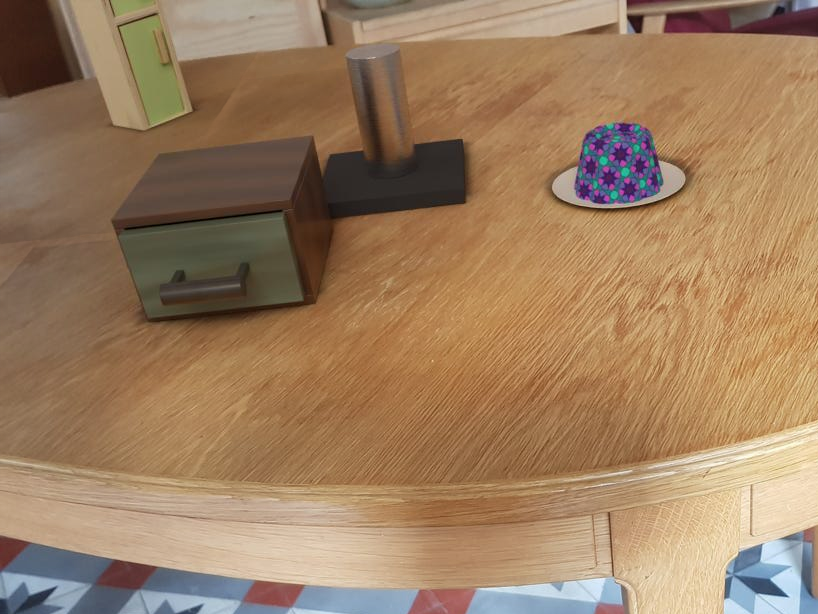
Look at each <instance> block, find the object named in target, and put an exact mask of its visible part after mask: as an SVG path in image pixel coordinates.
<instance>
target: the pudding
mask: <svg viewBox="0 0 818 614" xmlns="http://www.w3.org/2000/svg"><path fill="white" fill-rule="evenodd" d="M685 183H686V175H685V173H684V171H683V170H682V169H681V168H679V167H678V166H676V165H674V164H673V163H672V164H671V163H669V162H666V161H663V160H659V158H658V154H657V149H656V146H655V142H654V137H653V134H652V133H651V131H650V130H649V129H648V128H647V127H645V126H643V125H642V124H639V123H635V122H630V123H626V122H612V123H610V124H602V125H597V126H595V127H594V129H591V130H589V131H588V132H586V133H585V135H584V137H583V139H582V143H581V149H580V154H579V159H578V164H577V166H575V167H572V168H570V169H567V170H565V171H564V172H562V173H560V175H558V176H557V177H556V178H555V179H554V180H553V183H552V185H551V190H552V192H553V194H554V195H555V196H557V198H559V199H560V200H563V202H567V203H569V204H572V205H576V206H581V207H588V208H597V209H621V208H629V207H630V208H631V207H637V206H641V205H646V204H649V203H654V202H657V201H660V200H662V199H665V198H668V197H669V196H671V195H673V194H675V193H677V192H678V191H679V190H680V189H681V188H682V187H683V186H684V184H685Z"/></svg>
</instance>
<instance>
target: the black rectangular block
mask: <svg viewBox="0 0 818 614" xmlns="http://www.w3.org/2000/svg"><path fill="white" fill-rule="evenodd" d="M414 145H415V152H416V158H417V165H418V166H417V169H416V170H415V171H413V172H412V173H410V174H407V175H405V176H401V177H397V178H391V179H377V178H373V177H370V176H369V175H368V174H367V169H366V164H365V158H364V153H363V149H362V150H353V151H346V152H338V153H330V154H329V156H328V159H327V162H326V165H325V168H324V172H323V174H322V178H323V183H324V188H325V192H326V197H327V202H328V206H329V211H330V215H331V219H337V218H338V219H339V218H349V217H357V216H364V215H373V214H374V215H375V214H382V213H390V212H398V211H408V210H416V209H425V208H433V207H434V208H435V207H443V206H451V205H461V204H466V202H467V201H466V200H467V197H466V195H467V194H466V167H465V165H466V164H465V147H464V139H463V138H454V139H445V140H438V141H428V142H420V143H414Z"/></svg>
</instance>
